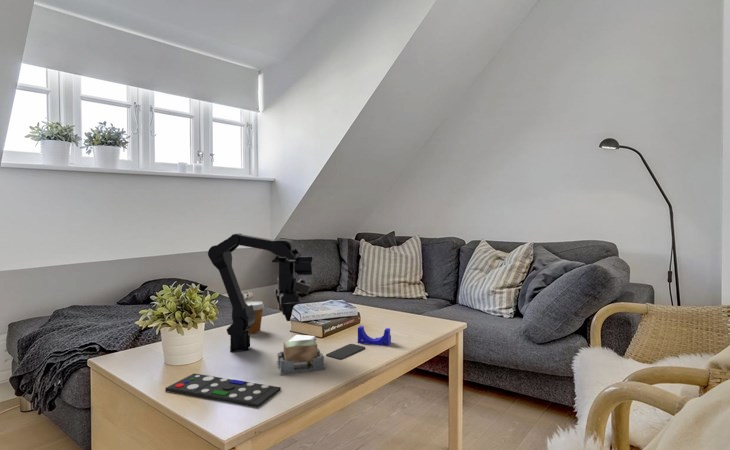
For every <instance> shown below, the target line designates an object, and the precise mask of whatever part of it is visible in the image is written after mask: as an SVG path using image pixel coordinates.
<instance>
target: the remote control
mask: <svg viewBox="0 0 730 450" xmlns="http://www.w3.org/2000/svg"><path fill="white" fill-rule="evenodd" d="M164 391H165V392H167V391H169V392H168V393H174V394H180V395H185V396H189V397H195V398H201V399H206V400H212V401H218V402H223V403H228V404H235V405H239V406H246V407H252V408H257V409H258V408H260V407H261V406H263V405H264V404H266V402H268V401H269V400H270V399H272V398H273V397H274V396H276V395H277V394H278V393H280V392H281V391H282V387H281V386H275V385H269V384H262V383H258V382H257V383H256V382H253V381H252V382H250V381H249V382H248V381H246V380H238V379H234V378H233V379H230V378H226V377H225V378H224V377H219V376H212V375H206V374H200V373H192V374H190V375H188V376H186V377H184V378H182V379H180V380H179V381H176V382H174V383H172V384H170V385H169V386H167V387H165V390H164Z"/></svg>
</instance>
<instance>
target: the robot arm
mask: <svg viewBox="0 0 730 450" xmlns="http://www.w3.org/2000/svg"><path fill="white" fill-rule="evenodd" d="M239 246H242V247H247V248H248V247H249V248H253V249H258V250H263V251H264V250H265V251H268V252H270V253H272V254H274V255H276V256H275V257H274V258H273V259H272V260H271V263H277V277H276V279H277V283H278V284H277V286H275V288H274V295H275V298H276V302H277V303H278V305H279V309H280V310H281V314H282V315H283V316H284V318H285V320H286V322H290V321H291V318H292V314H293V309H294V307H295V306H296V305H298V304H299V302H300V296H299V295H298V294H297V292H299V293H302V294H304V295H309V292H310V289H311V285H309V284H307V283H306V280H305V279H302V278H300V279H299V280H297V278H296V277H295V274H297V275H298V276H315V274H316V269H317V267H316V262H315V257H314V255H309V256H307V255H306V256H304V255H303V256H302V255H301V253H300V252H299V250H298V249H297V245H296V243H295V242H294V241H293V239H286V238H285V239H284V238H283V239H269V238H264V237H257V236H253V235H248V234H247V235H246V234H243V233H232V235H230V236H229V237H228V238H226V239H225V240H223V241H221V242H219V243H218V244H216V245H211V246H210V247H209V249H208V251H207V255H208V258H209V260H210V262H211V264H212V265H213V266H214V268H216V269H217V270H218V272H219V274H220V275H219V276H220V277H221V280H222V283H223V285H224V289H225V291H226V295H227V297H228V299H229V303H230V305H231V318H232V323H231V324H230V326H228V328H226V332H227V335H228V336H230V338H229V339H230V340H229V341H230V345H229V350H230V351H229V352H231V353H233V352H243V351H249V350H250V347H251V334H248V329H250V327H251V325H252V324H253V323H254V321H255V315H256V313H255V312H254V310H253V306H252V305H250V306H248V305H247V304H246V303H245V302H246V301H245V299H244V295H243V292H242V291H241V288H240V285H239V282H238V280H237V277H236V274H235V272H234V269H233V256H232V255H233V254H232V253H233V252H234V251H235V250H236V249H238V247H239Z"/></svg>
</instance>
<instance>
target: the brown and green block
mask: <svg viewBox="0 0 730 450" xmlns="http://www.w3.org/2000/svg"><path fill="white" fill-rule="evenodd" d="M288 341H289V340H288ZM288 341H284V342H283V351H284V360H293V361H294V363H300V362H309V361H312V357H318V352H317V349H318V343H317V342H316V340H315V339H314V340H313V339H310V340H299V341H289V342H288Z"/></svg>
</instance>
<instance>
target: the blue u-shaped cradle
mask: <svg viewBox="0 0 730 450" xmlns="http://www.w3.org/2000/svg"><path fill="white" fill-rule="evenodd" d="M391 343H392V335H391V328H389V327H386V328H385V329H384V331H383V335H381V336H380V337H375V338H373V337H371V336H369V335H368V334H367V333H366V330H365V326H364V325H360V326H358V327H357V344H365V345H373V346H375V345H376V346H386V347H389V346H390V345H391Z"/></svg>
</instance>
